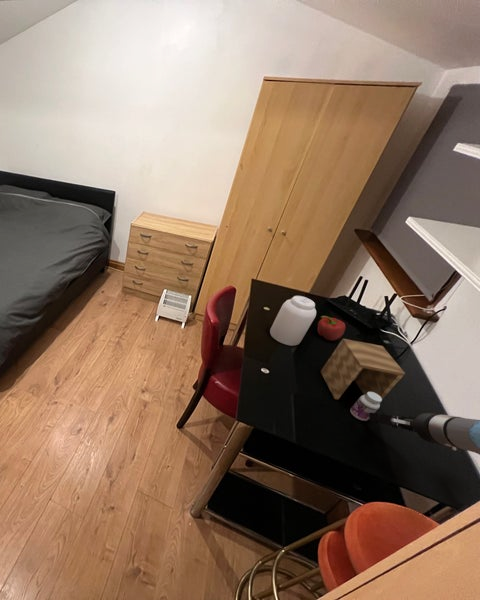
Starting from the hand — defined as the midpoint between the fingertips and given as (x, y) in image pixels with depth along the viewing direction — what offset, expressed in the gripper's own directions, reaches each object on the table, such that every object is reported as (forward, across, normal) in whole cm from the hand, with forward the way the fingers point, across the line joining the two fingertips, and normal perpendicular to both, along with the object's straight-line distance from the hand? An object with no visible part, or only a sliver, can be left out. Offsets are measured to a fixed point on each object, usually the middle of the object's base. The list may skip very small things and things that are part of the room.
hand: (372, 417), depth 105 cm
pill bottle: (+6, 0, 0) cm, 6 cm away
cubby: (+14, +1, +9) cm, 17 cm away
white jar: (+33, -14, +27) cm, 45 cm away
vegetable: (+38, +5, +32) cm, 50 cm away
